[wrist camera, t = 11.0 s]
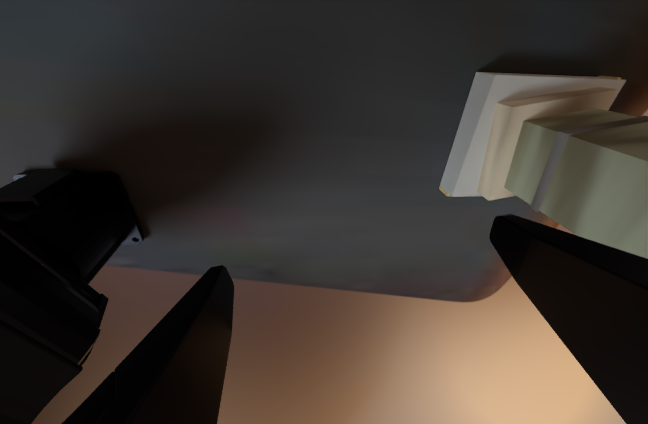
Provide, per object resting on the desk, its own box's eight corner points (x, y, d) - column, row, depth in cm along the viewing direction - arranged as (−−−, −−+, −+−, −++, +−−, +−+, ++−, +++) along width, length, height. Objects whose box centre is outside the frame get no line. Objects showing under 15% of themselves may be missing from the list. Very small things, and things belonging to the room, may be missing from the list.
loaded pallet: (476, 191, 22) (668, 340, 11) (496, 102, 18) (828, 197, 7) (557, 176, 22) (825, 308, 11) (594, 86, 18) (1067, 151, 7)
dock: (540, 186, 25) (558, 197, 23) (438, 188, 23) (450, 199, 22) (601, 75, 20) (631, 78, 18) (476, 70, 18) (495, 73, 17)
